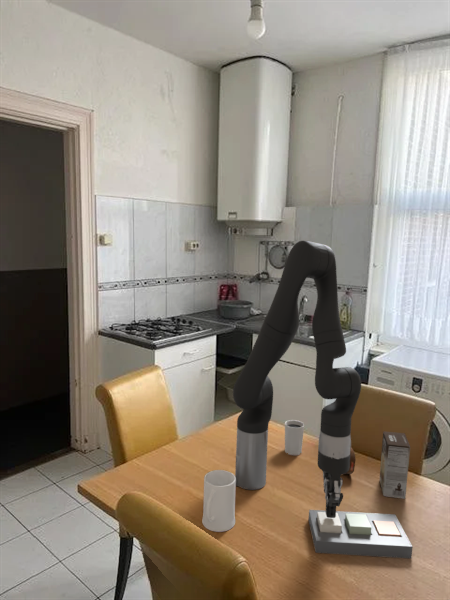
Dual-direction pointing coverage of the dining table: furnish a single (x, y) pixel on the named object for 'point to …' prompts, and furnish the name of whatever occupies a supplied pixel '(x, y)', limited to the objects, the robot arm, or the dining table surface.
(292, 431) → the white cup
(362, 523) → the sage button
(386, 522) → the terracotta button
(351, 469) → the tin
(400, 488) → the coffee box
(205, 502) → the mug
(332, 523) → the offwhite button
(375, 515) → the button panel
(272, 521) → the dining table surface
